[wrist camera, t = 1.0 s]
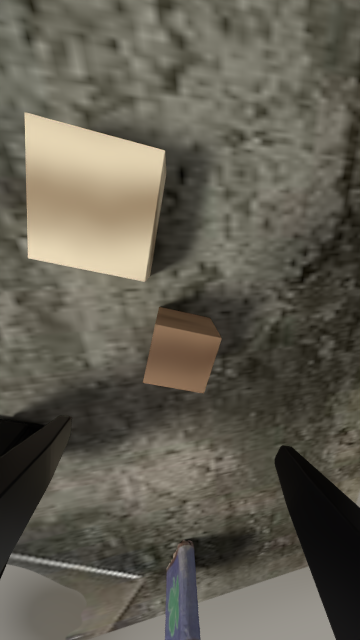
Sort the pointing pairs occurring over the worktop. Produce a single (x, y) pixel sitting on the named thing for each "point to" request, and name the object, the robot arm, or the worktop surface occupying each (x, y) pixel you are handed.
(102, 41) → the worktop surface
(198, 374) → the walnut cube
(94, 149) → the beech block
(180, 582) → the flask
